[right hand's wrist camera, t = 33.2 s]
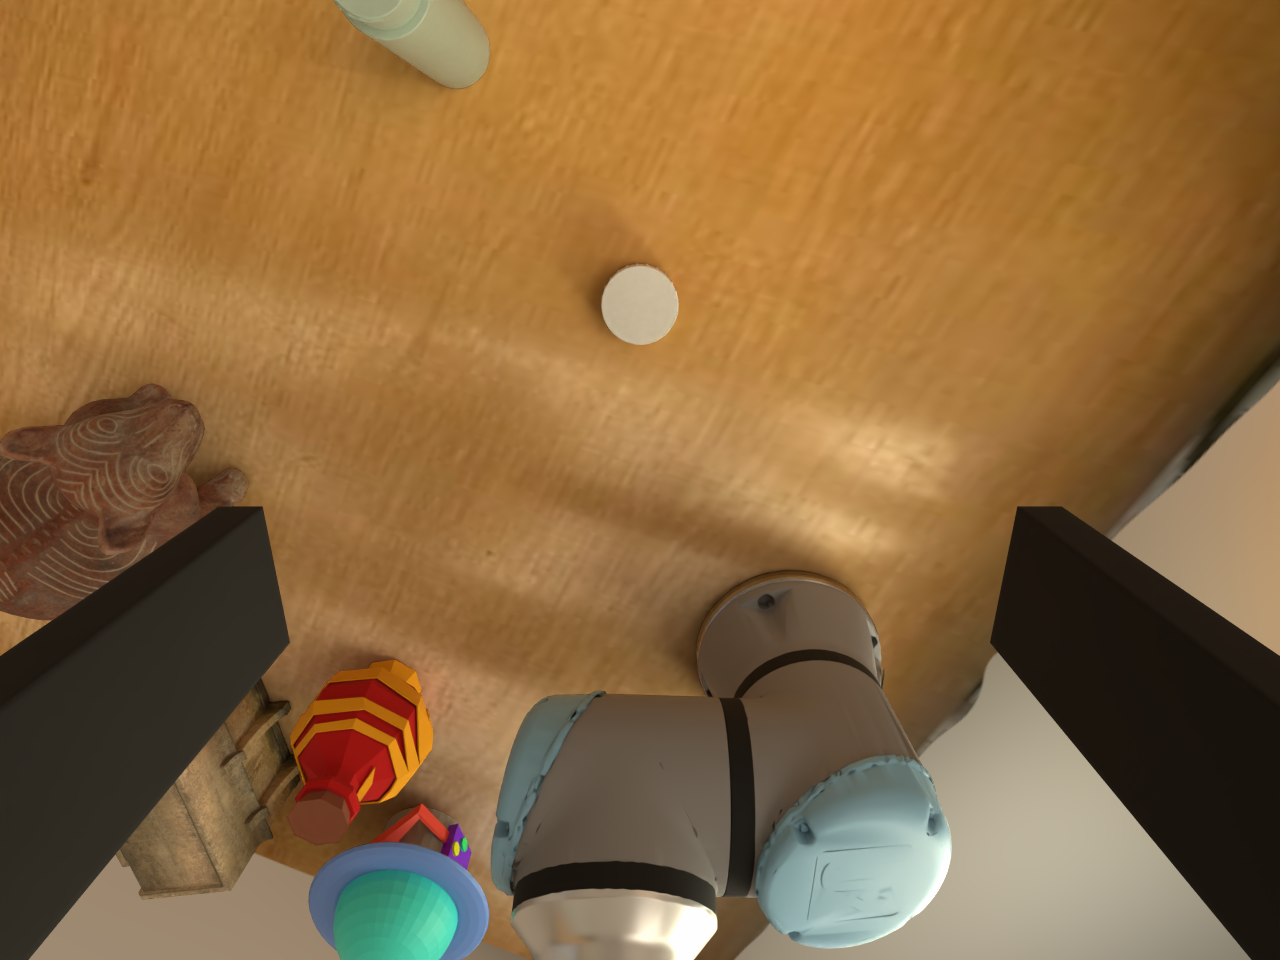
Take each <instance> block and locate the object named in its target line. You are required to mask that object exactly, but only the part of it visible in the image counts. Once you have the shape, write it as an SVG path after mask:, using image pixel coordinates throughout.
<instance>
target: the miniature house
mask: <svg viewBox="0 0 1280 960" xmlns="http://www.w3.org/2000/svg"><path fill="white" fill-rule="evenodd" d="M290 710H291V707H290V704H289V702H288V701H283V702H273V703H270V701H269V698H268V696H267V693H266V691H265V688H264V685H263V683H262V680H261V679H259V681H258V682H257V683H256V684H255V685H254V687H253V688H252V689H251V690H250V692H249V693H248V694H247V695H246V696H245V698H244V699H243V700H242V701H241V702H240V704H239V705H238V706H237V707H236V709H235V710H234V711H233V712H232V713H231V715H230V716H229V717H228V718H227V719H226V721H225V722H224V723H223V724H222V725H221V727H220V728H219V729H218V730H217V732H216V733H215V734H214V735H213V736H212V738H211V739H210V740H209V741H208V742H207V744H206V745H205V746H204V747H203V749H202V750H201V751H200V752H199V753H198V755H197V756H196V757H195V758H194V759H193V761H192V762H191V763H190V764H189V766H188V767H187V768H186V769H185V770H184V772H183V773H182V774H181V775H180V776H179V778H178V779H177V780H176V781H175V783H174V784H173V785H172V786H171V787H170V789H169V790H168V791H167V792H166V793H165V795H164V796H163V797H162V798H161V800H160V801H159V802H158V803H157V804H156V806H155V807H154V808H153V809H152V810H151V812H150V813H149V814H148V815H147V816H146V818H145V819H144V820H143V821H142V823H141V824H140V825H139V826H138V827H137V829H136V830H135V831H134V832H133V833H132V835H131V836H130V837H129V838H128V840H127V841H126V842H125V843H124V844H123V846H122V847H121V848H120V849H119V850H118V852H117V853H116V856H117V858H118V860H119V862H120V863H121V865H122V867H126V866H130V867H131V869H132V871H133V873H134V875H135V877H136V879H137V881H138V882H139V884H140V886H141V889H140V891H139V895H140V897H141V899H143V900H145V899H154V898H164V897H174V896H183V895H193V894H203V893H213V892H222V891H231V890H232V888H233V886H234V885H235V883H236V882H237V880H238V878H239V877H240V875H241V873H242V872H243V870H244V868H245V867H246V865H247V863H248V862H249V860H250V858H251V857H252V855H253V854H254V852H255V850H256V849H257V847H258V846H259V844H260V843H261V842H263V841H265V840H268V839H272V838H273V835H272V832H271V830H270V828H269V827H270V826H271V824H272V822H273V821H274V819H275V817H276V816H277V814H278V813H279V811H280V809H281V808H282V806H283V804H284V803H285V801H286V799H287V798H288V796H289V794H290V793H291V791H292V789H293V788H296V786H297V785H298V783H299V781H300V779H299V776H298V773H299V772H300V771H299V768H298V765H297V762H296V759H295V756H294V755H290V753H289V750H288V748H287V745H286V743H285V740H284V737H283V735H282V732H281V730H280V727H279V724H278V722H277V721H278V720H279V719H280V718H281V717H283V716H284V715H287V714H288V713H289V711H290Z"/></svg>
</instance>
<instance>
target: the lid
mask: <svg viewBox="0 0 1280 960" xmlns="http://www.w3.org/2000/svg"><path fill="white" fill-rule="evenodd" d="M672 283H673V282H672V280H670V279H669V278H668V277H667V276H666V273H665V272H664V273H663V272H662V271H661V270H659V269H658V268H657V267H653V266H651V265H648V263H646V264H638V263H636V264H633V265H629V266H628V265H626V267H624V268H622V269H621V270H619V269H618V270H617V272H616V273H615V274H614V275H613V276H611V277H610V280H609V282H608V284H607V285H605V287H604V289H605V290H604V293H603V295H602V297H601V299H602V303H601V309H602V314H603V319H604V321H605V323H606V325H607V326H608V328H609V329H610V331H611V332H612V333H613V334H614V335H615V336H617V337H618V338H619V339H621V340H623V341H625V342H628V343H631V344H637V345H643V344H649V343H652V342H655V341H657V340H659V339H660V338H662V337H663V336H664V335H666V334H667V333H668V332H669V331H670V329H671V328H672V326H673V324H674V323H675V320H676V317H677V313H678V303H679V300H678V297H677V290H676V289H675V288H674V286H673V284H672Z"/></svg>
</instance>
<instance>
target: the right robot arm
mask: <svg viewBox="0 0 1280 960" xmlns="http://www.w3.org/2000/svg"><path fill="white" fill-rule="evenodd" d="M289 643H290V641H289V636H288V631H287V626H286V621H285V616H284V611H283V606H282V601H281V596H280V591H279V586H278V581H277V576H276V571H275V566H274V561H273V556H272V551H271V546H270V541H269V536H268V531H267V526H266V521H265V516H264V511H263V507H217V508H216V509H214V510H213V511H211V512H210V513H208V514H207V515H205V516H204V517H202V518H201V519H200V520H198V521H197V522H195V523H194V524H192V525H191V526H189V527H188V528H186V529H185V530H184V531H182V532H181V533H179V534H178V535H176V536H175V537H173V538H172V539H170V540H169V541H167V542H166V543H165V544H163V545H162V546H160V547H159V548H157V549H156V550H154V551H153V552H151V553H150V554H148V555H147V556H146V557H144V558H143V559H141V560H140V561H138V562H137V563H135V564H134V565H132V566H131V567H130V568H128V569H127V570H125V571H124V572H122V573H121V574H119V575H118V576H116V577H115V578H113V579H112V580H111V581H109V582H108V583H106V584H105V585H103V586H102V587H100V588H99V589H97V590H96V591H95V592H93V593H92V594H90V595H89V596H87V597H86V598H84V599H83V600H81V601H80V602H78V603H77V604H76V605H74V606H73V607H71V608H70V609H68V610H67V611H65V612H64V613H62V614H61V615H59V616H58V617H57V618H55V619H54V620H52V621H51V622H49V623H48V624H46V625H45V626H43V627H42V628H41V629H39V630H38V631H36V632H35V633H33V634H32V635H30V636H29V637H27V638H26V639H24V640H23V641H22V642H20V643H19V644H17V645H16V646H14V647H13V648H11V649H10V650H8V651H7V652H5V653H4V654H3V655H1V656H0V960H29V958H30V957H31V956H32V955H33V954H34V952H35V951H36V950H37V949H38V947H39V946H40V945H41V944H42V943H43V941H44V940H45V939H46V938H47V937H48V935H49V934H50V933H51V932H52V931H53V929H54V928H55V927H56V926H57V924H58V923H59V922H60V921H61V920H62V918H63V917H64V916H65V915H66V914H67V912H68V911H69V910H70V909H71V907H72V906H73V905H74V904H75V903H76V901H77V900H78V899H79V898H80V897H81V895H82V894H83V893H84V892H85V891H86V889H87V888H88V887H89V886H90V884H91V883H92V882H93V881H94V880H95V878H96V877H97V876H98V875H99V873H100V872H101V871H102V870H103V869H104V867H105V866H106V865H107V864H108V863H109V861H110V860H111V859H112V858H113V857H114V855H115V854H116V853H117V852H118V850H119V849H120V848H121V847H122V846H123V844H124V843H125V842H126V841H127V840H128V838H129V837H130V836H131V835H132V833H133V832H134V831H135V830H136V829H137V827H138V826H139V825H140V824H141V823H142V821H143V820H144V819H145V818H146V816H147V815H148V814H149V813H150V812H151V810H152V809H153V808H154V807H155V806H156V804H157V803H158V802H159V801H160V800H161V798H162V797H163V796H164V795H165V793H166V792H167V791H168V790H169V789H170V787H171V786H172V785H173V784H174V783H175V781H176V780H177V779H178V778H179V776H180V775H181V774H182V773H183V772H184V770H185V769H186V768H187V767H188V766H189V764H190V763H191V762H192V761H193V759H194V758H195V757H196V756H197V755H198V753H199V752H200V751H201V750H202V749H203V747H204V746H205V745H206V744H207V742H208V741H209V740H210V739H211V738H212V736H213V735H214V734H215V733H216V732H217V730H218V729H219V728H220V727H221V725H222V724H223V723H224V722H225V721H226V719H227V718H228V717H229V716H230V715H231V713H232V712H233V711H234V710H235V709H236V707H237V706H238V705H239V704H240V702H241V701H242V700H243V699H244V698H245V696H246V695H247V694H248V693H249V692H250V690H251V689H252V688H253V687H254V685H255V684H256V683H257V682H258V681H259V679H260V678H261V677H262V676H263V675H264V673H265V672H266V671H267V670H268V668H269V667H270V666H271V665H272V664H273V662H274V661H275V660H276V659H277V658H278V656H279V655H280V654H281V653H282V651H283V650H284V649H285V648H286V647H287V645H288V644H289ZM990 643H991V644H992V645H993V647H994V648H995V649H996V650H997V651H998V653H999V654H1000V655H1001V656H1002V658H1003V659H1004V660H1005V661H1006V662H1007V664H1008V665H1009V666H1010V667H1011V668H1012V670H1013V671H1014V672H1015V673H1016V675H1017V676H1018V677H1019V678H1020V679H1021V681H1022V682H1023V683H1024V684H1025V685H1026V687H1027V688H1028V689H1029V690H1030V691H1031V693H1032V694H1033V695H1034V696H1035V697H1036V699H1037V700H1038V701H1039V702H1040V704H1041V705H1042V706H1043V707H1044V708H1045V710H1046V711H1047V712H1048V713H1049V715H1050V716H1051V717H1052V718H1053V719H1054V721H1055V722H1056V723H1057V724H1058V725H1059V727H1060V728H1061V729H1062V730H1063V732H1064V733H1065V734H1066V735H1067V736H1068V738H1069V739H1070V740H1071V741H1072V742H1073V744H1074V745H1075V746H1076V747H1077V748H1078V750H1079V751H1080V752H1081V753H1082V755H1083V756H1084V757H1085V758H1086V759H1087V761H1088V762H1089V763H1090V764H1091V766H1092V767H1093V768H1094V769H1095V770H1096V772H1097V773H1098V774H1099V775H1100V776H1101V778H1102V779H1103V780H1104V781H1105V783H1106V784H1107V785H1108V786H1109V787H1110V789H1111V790H1112V791H1113V792H1114V793H1115V795H1116V796H1117V797H1118V798H1119V799H1120V801H1121V802H1122V803H1123V804H1124V806H1125V807H1126V808H1127V809H1128V810H1129V812H1130V813H1131V814H1132V815H1133V816H1134V818H1135V819H1136V820H1137V821H1138V823H1139V824H1140V825H1141V826H1142V827H1143V829H1144V830H1145V831H1146V832H1147V833H1148V835H1149V836H1150V837H1151V838H1152V840H1153V841H1154V842H1155V843H1156V844H1157V846H1158V847H1159V848H1160V849H1161V850H1162V852H1163V853H1164V854H1165V855H1166V856H1167V858H1168V859H1169V860H1170V861H1171V863H1172V864H1173V865H1174V866H1175V867H1176V869H1177V870H1178V871H1179V872H1180V873H1181V875H1182V876H1183V877H1184V878H1185V880H1186V881H1187V882H1188V883H1189V884H1190V886H1191V887H1192V888H1193V889H1194V891H1195V892H1196V893H1197V894H1198V895H1199V896H1200V898H1201V899H1202V900H1203V901H1204V903H1205V904H1206V905H1207V906H1208V907H1209V909H1210V910H1211V911H1212V912H1213V914H1214V915H1215V916H1216V917H1217V918H1218V920H1219V921H1220V922H1221V923H1222V924H1223V926H1224V927H1225V928H1226V929H1227V931H1228V932H1229V933H1230V934H1231V935H1232V937H1233V938H1234V939H1235V940H1236V941H1237V943H1238V944H1239V945H1240V946H1241V948H1242V949H1243V950H1244V951H1245V952H1246V954H1247V955H1248V956H1249V957H1250V958H1251V960H1280V656H1279V655H1277V654H1276V653H1275V652H1273V651H1272V650H1270V649H1269V648H1267V647H1266V646H1264V645H1263V644H1261V643H1260V642H1258V641H1257V640H1256V639H1254V638H1253V637H1251V636H1250V635H1248V634H1247V633H1245V632H1244V631H1242V630H1241V629H1239V628H1238V627H1237V626H1235V625H1234V624H1232V623H1231V622H1229V621H1228V620H1226V619H1225V618H1223V617H1222V616H1220V615H1219V614H1218V613H1216V612H1215V611H1213V610H1212V609H1210V608H1209V607H1207V606H1206V605H1204V604H1203V603H1202V602H1200V601H1199V600H1197V599H1196V598H1194V597H1193V596H1191V595H1190V594H1188V593H1187V592H1185V591H1184V590H1183V589H1181V588H1180V587H1178V586H1177V585H1175V584H1174V583H1172V582H1171V581H1169V580H1168V579H1166V578H1165V577H1164V576H1162V575H1161V574H1159V573H1158V572H1156V571H1155V570H1153V569H1152V568H1150V567H1149V566H1148V565H1146V564H1145V563H1143V562H1142V561H1140V560H1139V559H1137V558H1136V557H1134V556H1133V555H1131V554H1130V553H1129V552H1127V551H1126V550H1124V549H1123V548H1121V547H1120V546H1118V545H1117V544H1115V543H1114V542H1113V541H1111V540H1110V539H1108V538H1107V537H1105V536H1104V535H1102V534H1101V533H1099V532H1098V531H1096V530H1095V529H1094V528H1092V527H1091V526H1089V525H1088V524H1086V523H1085V522H1083V521H1082V520H1080V519H1079V518H1078V517H1076V516H1075V515H1073V514H1072V513H1070V512H1069V511H1067V510H1066V509H1064V508H1063V507H1017V511H1016V516H1015V521H1014V526H1013V531H1012V536H1011V541H1010V546H1009V551H1008V556H1007V561H1006V566H1005V571H1004V576H1003V581H1002V586H1001V591H1000V596H999V601H998V606H997V611H996V616H995V621H994V626H993V631H992V636H991V641H990ZM696 659H697V667H698V675H699V679H700V682H701V685H702V688H703V690H704V692H705V694H706V696H707V697H695V696H662V695H629V694H606V692H605V691H595V692H592V693H591V694H578V695H552V696H548V697H546V698H543V699H542V700H541V701H539V702H538V703H537V704H535V705H534V706H533V708H532V709H531V710H530V711H529V712H528V713H527V715H526V716H525V718H524V720H523V722H522V724H521V726H520V728H519V730H518V733H517V735H516V738H515V741H514V743H513V746H512V749H511V752H510V756H509V759H508V763H507V766H506V770H505V774H504V778H503V782H502V786H501V790H500V795H499V800H498V805H497V811H496V816H497V821H498V822H497V824H496V827H495V831H494V836H493V841H492V848H491V874H492V879H493V882H494V884H495V886H496V887H497V889H499V890H500V891H503V892H505V894H507V895H514V900H513V908H512V917H511V925H512V927H513V928H514V930H515V931H516V933H517V934H518V935H519V937H520V938H521V940H522V941H523V942H524V944H525V945H526V946H527V948H528V949H529V951H530V953H531V955H532V958H533V960H694V959H695V957H696V956H697V955H698V954H699V952H700V951H701V950H702V949H703V947H704V946H705V945H706V944H707V942H708V941H709V940H710V938H711V937H712V936H713V935H714V933H715V932H716V930H717V909H716V897H747V898H757V899H758V904H759V907H760V908H761V909H762V912H764V914H765V915H766V917H767V919H768V920H769V922H770V923H771V924H772V926H773V927H774V928H775V929H776V930H777V931H779V932H780V933H782V934H787V933H788V934H789V937H790V938H791V939H792V940H793V941H795V942H797V943H800V944H803V945H806V946H811V947H819V948H844V947H851V946H856V945H861V944H864V943H868V942H871V941H873V940H876V939H879V938H881V937H883V936H885V935H888V934H889V933H891V932H893V931H895V930H897V929H899V928H900V927H902V926H903V925H904V924H905V923H906V922H907V921H908V920H909V919H910V918H912V917H913V916H915V915H917V914H918V913H920V912H921V911H922V910H923V909H924V908H925V907H926V906H927V904H928V903H929V902H930V901H931V900H932V899H933V897H934V896H935V894H936V893H937V891H938V890H939V888H940V886H941V884H942V882H943V880H944V878H945V876H946V873H947V870H948V867H949V863H950V858H951V834H950V829H949V826H948V822H947V820H946V817H945V815H944V812H943V810H942V807H941V805H940V802H939V800H938V797H937V795H936V790H935V786H934V785H933V780H932V778H931V776H930V774H929V773H928V771H927V770H926V769H925V768H924V767H923V766H922V764H921V762H920V760H919V758H918V756H917V754H916V753H915V751H914V749H913V747H912V745H911V743H910V741H909V739H908V737H907V736H906V734H905V732H904V730H903V728H902V726H901V724H900V722H899V720H898V719H897V717H896V715H895V713H894V711H893V709H892V707H891V705H890V703H889V702H888V700H887V698H886V696H885V694H884V692H883V690H882V686H883V680H884V670H883V677H882V683H881V648H880V642H879V637H878V633H877V630H876V628H875V625H874V623H873V621H872V619H871V617H870V616H869V614H868V612H867V610H866V609H865V607H864V606H863V604H862V603H861V602H860V600H859V599H858V598H857V597H856V596H855V595H854V594H853V593H852V592H851V591H850V590H848V589H847V588H846V587H844V586H843V585H841V584H839V583H838V582H836V581H834V580H832V579H830V578H827V577H824V576H821V575H818V574H814V573H809V572H802V571H782V572H774V573H769V574H765V575H761V576H758V577H755V578H753V579H750V580H748V581H746V582H744V583H742V584H740V585H738V586H737V587H735V588H733V589H732V590H731V591H729V592H728V593H727V594H725V595H724V596H723V597H722V598H721V599H720V600H719V601H718V602H717V603H716V604H715V605H714V606H713V608H712V609H711V610H710V612H709V613H708V615H707V616H706V618H705V620H704V622H703V624H702V626H701V629H700V632H699V635H698V639H697V646H696Z"/></svg>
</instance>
